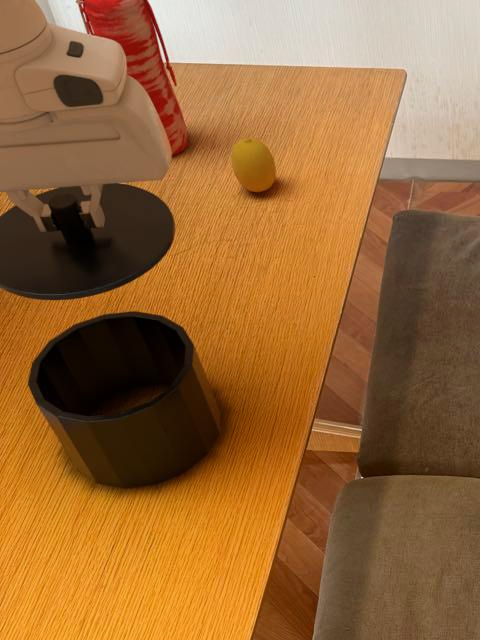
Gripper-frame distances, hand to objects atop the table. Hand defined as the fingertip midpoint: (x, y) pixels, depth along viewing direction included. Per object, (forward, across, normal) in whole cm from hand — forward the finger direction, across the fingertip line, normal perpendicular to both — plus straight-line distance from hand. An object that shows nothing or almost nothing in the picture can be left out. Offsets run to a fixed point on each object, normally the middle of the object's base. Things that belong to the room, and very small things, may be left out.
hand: (74, 226), depth 80 cm
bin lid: (+2, 0, 0) cm, 2 cm away
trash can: (+24, -1, -3) cm, 24 cm away
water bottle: (+24, -5, +54) cm, 59 cm away
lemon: (+24, +10, +41) cm, 48 cm away
